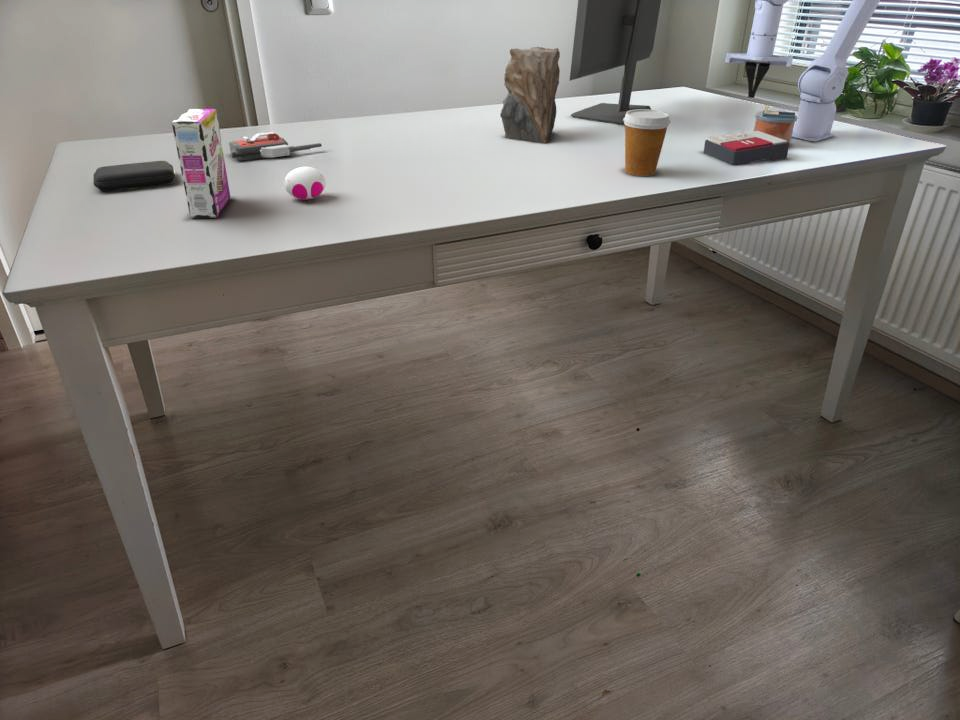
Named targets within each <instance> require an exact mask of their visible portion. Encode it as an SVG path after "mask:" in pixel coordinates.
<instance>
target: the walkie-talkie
mask: <svg viewBox="0 0 960 720" xmlns="http://www.w3.org/2000/svg"><path fill="white" fill-rule="evenodd" d="M265 136H266V137H265ZM228 145H229V151H230V155H231V157H232V158H233V159H236V160H237V161H241V162H243V161H249V160H256V159H264V158H265V159H266V158H278V157H287V156H291V153H295V152H301V151H307V150H311V149H314V148H321V147H322V143H321V142H318V143H310V144H303V145H296V146H293V145H291V146H289V142H288V141H286V139H285V138H283V137H281V136H280V135H279V134H278V133H276V132H275V131H266V132H258V133H257V132H256V133H255V134H254V135H253V136H252V137H251V138H250V137H248V136H243V139H241V140H234V141H229V142H228Z"/></svg>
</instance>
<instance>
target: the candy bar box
mask: <svg viewBox="0 0 960 720" xmlns="http://www.w3.org/2000/svg"><path fill="white" fill-rule="evenodd" d="M171 126H172V131H173V137H174V142H175V146H176V151H177V157H178V162H179V168H180V171H181V177H182V182H183V187H184V193H185V198H186V202H187V207H188V213H189V218H192V219H204V218H205V219H209V218H210V219H214V218H218V217H219V215H220V214H221V212H222V211H223V209H224V208H225V206H226V205H227V203H228V202H229V201H230V199H231V192H230V191H231V190H230V186H229V185H230V184H229V179H228V174H227V167H226V160H225V155H224V150H223V143H222V142H223V141H222V137H221V131H220V124H219V118H218V112H217V109H216V108H189V109H188V110H186V111H185V112H184V113H182V114H181V115H180V116H178V117H176V118H175V119H173V121H172V122H171Z"/></svg>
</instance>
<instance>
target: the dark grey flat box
mask: <svg viewBox="0 0 960 720" xmlns="http://www.w3.org/2000/svg"><path fill="white" fill-rule="evenodd" d="M789 144H791V142H790V143H789V142H787V141H786V140H783V139H780V138H777V137H775V136H772V135H769V134H766V133H763V132H760V131H754V130H752V131H747V132H744V131H743V132H741V131H740V132H736V133H730V134H727V135H725V134H724V135H716V136H711V137H708V138H707V139H705V140H704V147H703V154H706V155H708V156H711V157H712V158H715V159H718V160H720V161H722V162H725V163H727V164H729V165H731V166H736V165H742V164H747V163H753V162H758V161H764V160H765V161H766V160H771V161H779V160H780V161H781V160H786V159H787V158H788V154H789V148H790V145H789Z"/></svg>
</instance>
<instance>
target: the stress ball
mask: <svg viewBox="0 0 960 720" xmlns="http://www.w3.org/2000/svg"><path fill="white" fill-rule="evenodd" d="M283 185H284V188H285V191H286V192H287V193H288V194H289V195H290V196H291V197H293V198H295V199H298V200H308V202H309V203H312V202H311V201H312V200H311V199H314V198H318V197H319V196H320V195H321V194H322V193H323V192H324V190H325V188H326V185H327V182H326V177H325V175H324V174H323V172H321V171H320V170H319V169H317V168H315V167H312V166H300V167H296V168H294V169H292V170H291V171H289V172H288V173H287V175H286V176H285V178H284V183H283Z"/></svg>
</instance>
